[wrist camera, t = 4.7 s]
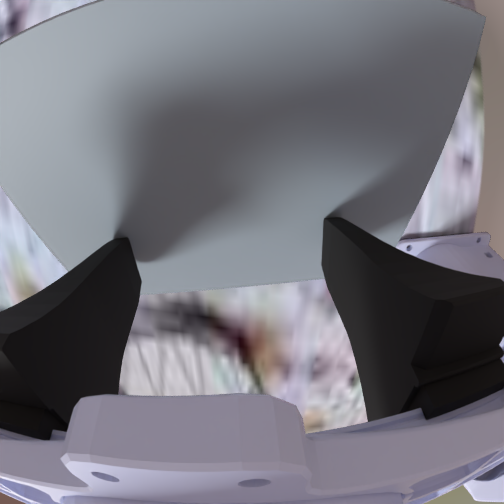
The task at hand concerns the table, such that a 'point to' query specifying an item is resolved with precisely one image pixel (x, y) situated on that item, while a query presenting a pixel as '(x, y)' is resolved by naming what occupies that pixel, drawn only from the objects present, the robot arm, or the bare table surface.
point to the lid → (228, 128)
